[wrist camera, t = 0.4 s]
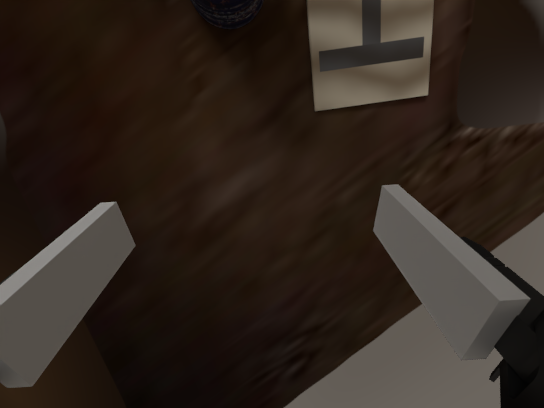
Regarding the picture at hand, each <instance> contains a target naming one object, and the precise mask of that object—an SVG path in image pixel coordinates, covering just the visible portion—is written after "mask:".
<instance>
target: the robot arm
mask: <svg viewBox="0 0 544 408" xmlns="http://www.w3.org/2000/svg"><path fill="white" fill-rule="evenodd" d="M373 231H374V233H375V234H376V236H377V237H378V239H379V240H380V242H381V243H382V245H383V246H384V248H385V249H386V250H387V252H388V253H389V255H390V256H391V258H392V259H393V261H394V262H395V264H396V265H397V267H398V268H399V270H400V271H401V273H402V274H403V276H404V277H405V279H406V280H407V282H408V283H409V284H410V286H411V287H412V289H413V290H414V292H415V293H416V295H417V296H418V298H419V299H420V301H421V302H422V304H423V305H424V307H425V308H426V309H427V311H428V313H429V314H430V315H431V317H432V318H433V320H434V321H435V323H436V324H437V326H438V327H439V329H440V330H441V332H442V333H443V335H444V336H445V338H446V339H447V340H448V342H449V343H450V345H451V346H452V348H453V349H454V351H455V352H456V354H457V355H458V357H459V358H460V360H473V359H486V358H487V357H488V355H489V354H490V353H491V351H492V350H493V349H494V347H495V348H496V349H497V351H498V352H499V353H500V354H501V355H502V357H503V360H502V361H501V362H500V363H499V365H498V366H497V367H496V368H495V370H494V371H493V372H492V373H491V376H490V378H489V380H491V381H493V382H494V381H495V380H496V379H497V378H498V376H500V393H501V394H500V396H501V408H544V296H543V295H542V294H540V293H539V292H538V291H536V290H535V289H534V288H533V287H532V286H530V285H529V284H528V283H527V282H525V281H524V280H523V279H522V278H520V277H519V276H518V275H517V274H516V273H514V272H513V271H512V270H511V269H509V268H508V267H505V264H503V263H502V262H501V261H500V260H498V259H497V258H494V256H493V255H492V254H491V253H490V252H489V251H487V250H486V249H485V248H484V247H482V246H481V245H479V244H477V243H475V242H473V241H472V240H470V239H468V238H466V237H458V236H457V235H456V234H455V233H454V232H452V231H451V230H450V229H449V228H448V227H447V226H445V225H444V224H443V223H442V222H441V221H440V220H438V219H437V218H436V217H435V216H434V215H433V214H431V213H430V212H429V211H428V210H427V209H426V208H424V207H423V206H422V205H421V204H420V203H419V202H417V201H416V200H415V199H414V198H413V197H412V196H410V195H409V194H408V193H407V192H406V191H405V190H404V189H402V188H401V187H400V186H399V185H398V184H397V185H382V189H381V194H380V199H379V204H378V209H377V214H376V219H375V224H374V229H373ZM134 247H135V243H134V241H133V239H132V236H131V234H130V232H129V229H128V227H127V225H126V223H125V220H124V218H123V216H122V214H121V211H120V209H119V207H118V205H117V202H106V203H100V204H99V205H97V206H96V207H95V208H94V209H93V210H91V211H90V212H89V213H88V214H86V215H85V216H84V217H83V218H82V219H80V220H79V221H78V222H77V223H75V224H74V225H73V226H72V227H71V228H69V229H68V230H67V231H66V232H64V233H63V234H62V235H61V236H59V237H58V238H57V239H56V240H55V241H53V242H52V243H51V244H50V245H48V246H47V247H46V248H45V249H44V250H42V251H41V252H40V253H39V254H38V255H36V256H35V257H34V258H33V259H31V260H30V261H29V262H28V263H26V264H25V265H24V266H23V267H21V268H20V269H19V270H18V271H16V272H15V273H13V274H11V275H10V276H8V277H7V278H6V279H5V280H4V281H2V282H1V283H0V382H1V383H2V384H3V385H5V386H6V387H7V388H12V387H29V386H33V385H34V383H35V382H36V380H37V379H38V378H39V377H40V375H41V374H42V372H43V371H44V370H45V368H46V367H47V366H48V364H49V363H50V361H51V360H52V359H53V357H54V356H55V354H56V353H57V352H58V351H59V349H60V348H61V346H62V345H63V344H64V342H65V341H66V340H67V338H68V337H69V336H70V334H71V333H72V331H73V330H74V329H75V327H76V326H77V325H78V323H79V321H80V320H81V319H82V318H83V316H84V315H85V314H86V312H87V311H88V310H89V308H90V307H91V306H92V304H93V303H94V301H95V300H96V299H97V297H98V296H99V295H100V293H101V292H102V290H103V289H104V288H105V286H106V285H107V284H108V282H109V281H110V280H111V278H112V277H113V275H114V274H115V273H116V271H117V270H118V269H119V267H120V266H121V264H122V263H123V262H124V260H125V259H126V258H127V256H128V255H129V254H130V252H131V251H132V249H133V248H134Z"/></svg>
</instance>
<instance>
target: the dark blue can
mask: <svg viewBox="0 0 544 408" xmlns="http://www.w3.org/2000/svg"><path fill="white" fill-rule="evenodd" d="M191 1H192V3H193V5H194V7H195V8H196V10H197V11H198V12H199V14H200V15H201V16H202V17H203V18H204V19H205V20H206V21H208V22H209V23H211V24H212V25H214V26H217V27H220V28H223V29H236V28H239V27H242V26H244V25H246V24H247V23H249V22H250V21H251V20H252V19H253V18H254V17H255V16H256V15H257V13H258V12H259V10H260V8H261V6H262V4H263V1H264V0H191Z"/></svg>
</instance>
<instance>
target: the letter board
mask: <svg viewBox="0 0 544 408" xmlns="http://www.w3.org/2000/svg"><path fill="white" fill-rule="evenodd" d="M306 5H307V18H308V31H309V45H310V58H311V71H312V85H313V98H314V111H322V110H329V109H336V108H343V107H350V106H357V105H363V104H370V103H377V102H384V101H391V100H398V99H405V98H412V97H419V96H426V95H428V86H429V70H430V54H431V39H432V23H433V7H434V0H306Z"/></svg>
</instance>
